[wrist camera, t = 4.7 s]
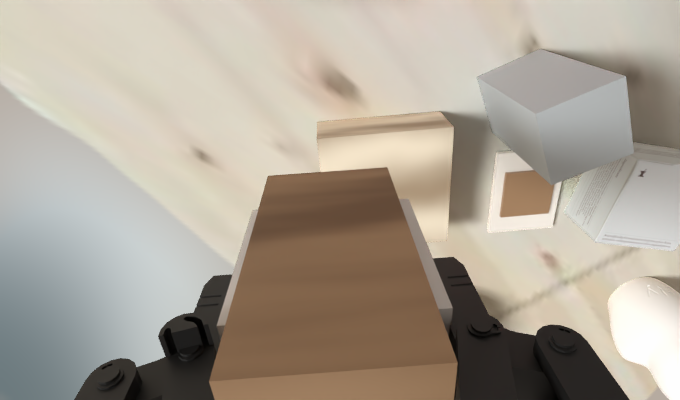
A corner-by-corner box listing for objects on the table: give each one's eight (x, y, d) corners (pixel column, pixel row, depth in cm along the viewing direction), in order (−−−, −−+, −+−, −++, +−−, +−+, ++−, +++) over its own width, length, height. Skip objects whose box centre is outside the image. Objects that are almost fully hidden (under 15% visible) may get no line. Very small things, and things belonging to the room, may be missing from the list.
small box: (560, 213, 38) (592, 244, 34) (598, 134, 35) (640, 157, 30) (635, 222, 39) (675, 254, 35) (679, 147, 36) (731, 171, 31)
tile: (495, 151, 35) (499, 155, 34) (565, 145, 35) (570, 149, 34) (486, 229, 39) (489, 234, 38) (549, 224, 39) (553, 229, 38)
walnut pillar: (267, 175, 17) (209, 381, 8) (387, 167, 17) (457, 362, 8) (283, 271, 19) (250, 512, 10) (388, 263, 19) (443, 497, 10)
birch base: (317, 121, 33) (316, 138, 30) (439, 111, 33) (454, 126, 30) (328, 225, 38) (328, 251, 34) (435, 216, 38) (447, 241, 34)
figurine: (587, 323, 45) (667, 428, 35) (621, 270, 42) (721, 368, 31) (644, 330, 46) (739, 433, 36) (682, 277, 43) (800, 375, 32)
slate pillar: (476, 76, 32) (535, 114, 23) (539, 48, 31) (625, 76, 22) (492, 132, 34) (551, 185, 25) (551, 107, 33) (634, 153, 24)
